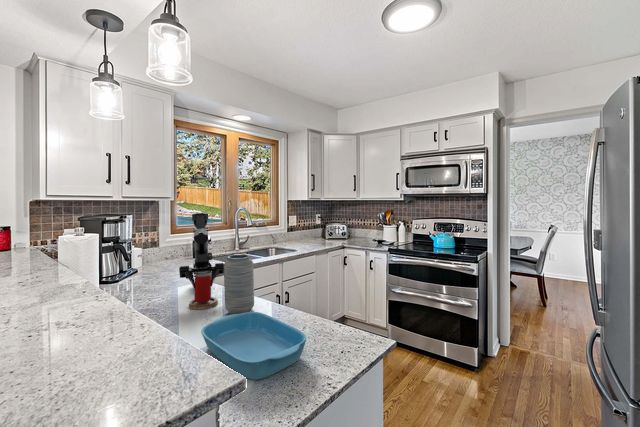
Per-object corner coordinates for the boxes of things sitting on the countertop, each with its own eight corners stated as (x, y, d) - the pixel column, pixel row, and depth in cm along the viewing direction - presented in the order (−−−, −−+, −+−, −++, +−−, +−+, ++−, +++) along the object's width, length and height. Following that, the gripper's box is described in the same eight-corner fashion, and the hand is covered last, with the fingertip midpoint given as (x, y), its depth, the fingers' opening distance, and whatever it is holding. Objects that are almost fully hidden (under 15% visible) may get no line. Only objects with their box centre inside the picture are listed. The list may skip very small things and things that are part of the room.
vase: (219, 313, 125) (217, 257, 123) (239, 304, 135) (237, 252, 134) (241, 319, 119) (239, 260, 118) (260, 309, 129) (259, 254, 128)
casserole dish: (191, 346, 99) (190, 324, 98) (251, 325, 114) (251, 306, 114) (253, 400, 72) (252, 370, 72) (321, 363, 88) (321, 338, 87)
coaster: (203, 298, 143) (203, 295, 143) (223, 302, 138) (223, 298, 138) (182, 307, 132) (182, 303, 132) (203, 311, 127) (203, 307, 127)
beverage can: (211, 298, 139) (211, 272, 139) (210, 303, 133) (210, 275, 132) (195, 299, 138) (195, 272, 137) (193, 304, 131) (193, 276, 131)
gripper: (178, 248, 134) (177, 279, 125) (223, 245, 141) (226, 275, 131) (180, 262, 142) (179, 292, 133) (222, 258, 149) (225, 287, 139)
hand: (202, 286), depth 134 cm, fingers closed on beverage can, 7 cm apart
